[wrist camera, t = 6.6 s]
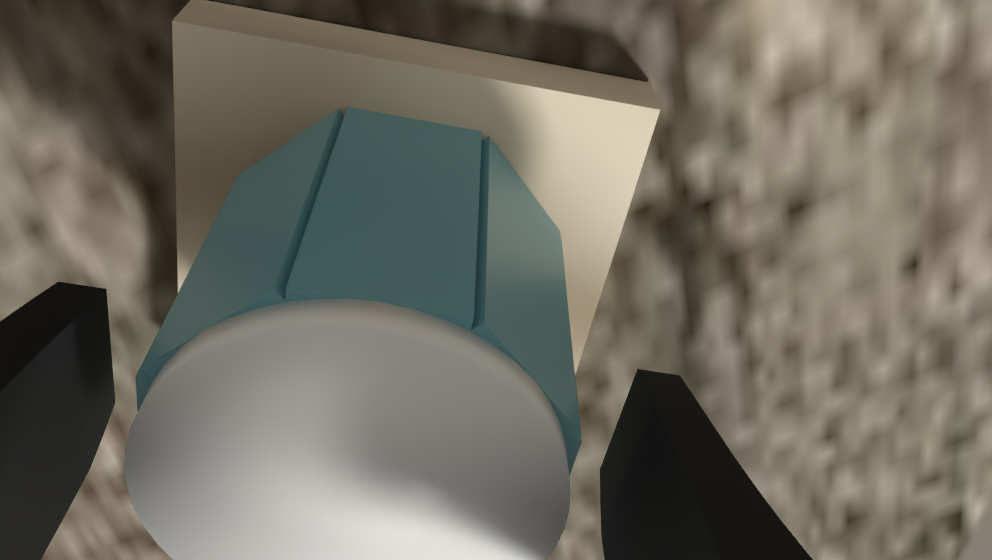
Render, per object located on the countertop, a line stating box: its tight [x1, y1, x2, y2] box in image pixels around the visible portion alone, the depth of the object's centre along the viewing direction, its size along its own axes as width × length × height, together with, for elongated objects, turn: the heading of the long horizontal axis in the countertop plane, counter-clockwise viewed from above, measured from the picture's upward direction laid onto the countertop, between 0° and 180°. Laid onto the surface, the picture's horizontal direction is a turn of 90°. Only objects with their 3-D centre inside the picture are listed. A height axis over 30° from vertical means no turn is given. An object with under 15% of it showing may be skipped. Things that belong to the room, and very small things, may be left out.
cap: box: [124, 107, 582, 560], centre depth 13 cm, size 5×5×5 cm
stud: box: [172, 0, 660, 374], centre depth 14 cm, size 7×7×4 cm
